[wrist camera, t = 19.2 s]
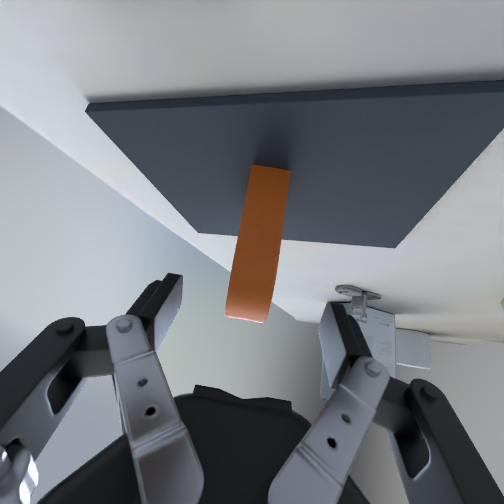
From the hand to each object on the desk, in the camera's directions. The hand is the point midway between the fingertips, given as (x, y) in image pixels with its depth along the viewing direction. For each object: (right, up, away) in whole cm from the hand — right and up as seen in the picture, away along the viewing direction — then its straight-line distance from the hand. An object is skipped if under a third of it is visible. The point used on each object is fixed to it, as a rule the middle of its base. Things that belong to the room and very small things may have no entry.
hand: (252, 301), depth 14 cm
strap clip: (+18, -4, +30) cm, 36 cm away
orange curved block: (+1, +7, +4) cm, 8 cm away
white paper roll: (+52, -24, +74) cm, 94 cm away
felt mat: (+2, +7, +5) cm, 9 cm away
